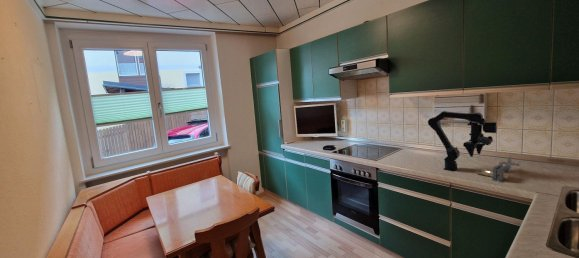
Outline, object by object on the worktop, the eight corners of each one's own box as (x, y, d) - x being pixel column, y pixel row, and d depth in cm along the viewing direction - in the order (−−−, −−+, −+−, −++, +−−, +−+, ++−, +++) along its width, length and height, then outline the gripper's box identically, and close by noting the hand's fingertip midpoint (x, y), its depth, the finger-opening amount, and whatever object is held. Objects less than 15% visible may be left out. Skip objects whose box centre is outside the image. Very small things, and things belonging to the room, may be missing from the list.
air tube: (475, 173, 163) (476, 167, 164) (478, 174, 165) (479, 168, 166) (506, 179, 149) (507, 172, 150) (508, 180, 152) (510, 174, 152)
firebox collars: (492, 180, 153) (492, 167, 151) (500, 176, 158) (500, 163, 157) (501, 182, 149) (501, 169, 148) (509, 177, 154) (509, 165, 153)
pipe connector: (519, 169, 165) (520, 155, 163) (518, 174, 158) (519, 158, 157) (500, 167, 172) (500, 153, 170) (497, 171, 165) (498, 157, 164)
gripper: (483, 135, 152) (482, 160, 154) (498, 131, 161) (496, 155, 163) (463, 133, 161) (462, 157, 164) (478, 129, 170) (477, 151, 173)
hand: (475, 155), depth 166 cm, fingers open, 9 cm apart
